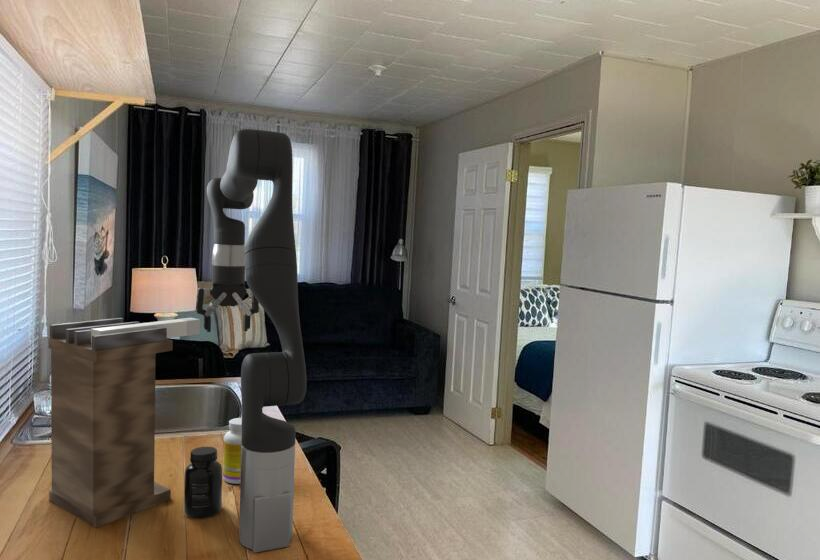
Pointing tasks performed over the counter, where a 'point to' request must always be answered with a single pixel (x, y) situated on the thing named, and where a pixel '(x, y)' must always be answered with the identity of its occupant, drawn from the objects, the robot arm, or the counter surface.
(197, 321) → the bar
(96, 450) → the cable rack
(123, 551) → the counter surface
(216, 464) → the supplement bottle
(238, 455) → the supplement bottle
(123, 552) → the counter surface
